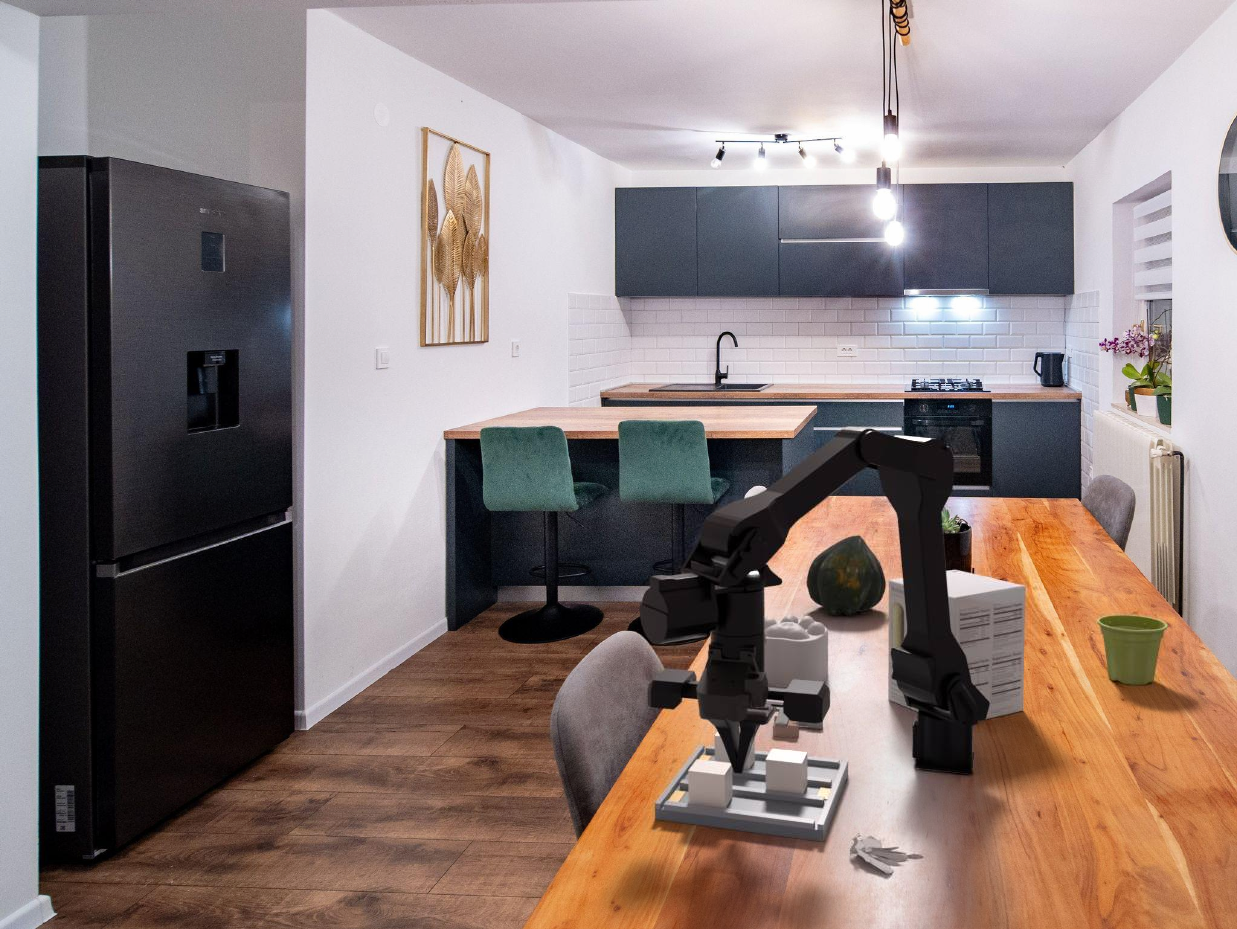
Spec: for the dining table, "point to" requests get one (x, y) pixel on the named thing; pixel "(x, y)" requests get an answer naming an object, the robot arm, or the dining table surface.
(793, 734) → the clamp
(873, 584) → the squash
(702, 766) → the beige block
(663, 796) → the grey tray
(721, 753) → the white block
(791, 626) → the lumpy-topped squat cylinder
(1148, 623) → the plant pot
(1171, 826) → the dining table surface
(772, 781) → the beige block
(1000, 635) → the supplement box
